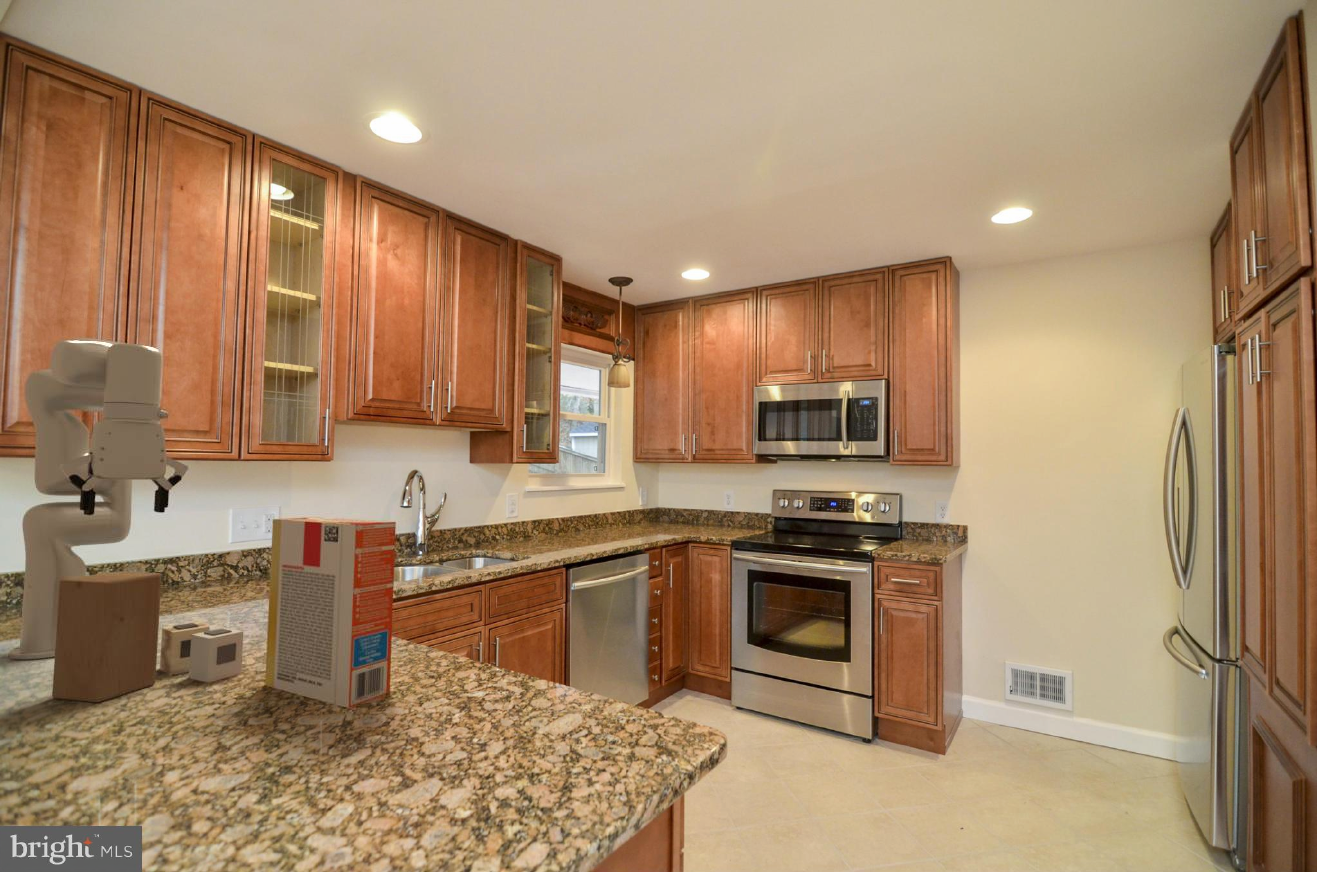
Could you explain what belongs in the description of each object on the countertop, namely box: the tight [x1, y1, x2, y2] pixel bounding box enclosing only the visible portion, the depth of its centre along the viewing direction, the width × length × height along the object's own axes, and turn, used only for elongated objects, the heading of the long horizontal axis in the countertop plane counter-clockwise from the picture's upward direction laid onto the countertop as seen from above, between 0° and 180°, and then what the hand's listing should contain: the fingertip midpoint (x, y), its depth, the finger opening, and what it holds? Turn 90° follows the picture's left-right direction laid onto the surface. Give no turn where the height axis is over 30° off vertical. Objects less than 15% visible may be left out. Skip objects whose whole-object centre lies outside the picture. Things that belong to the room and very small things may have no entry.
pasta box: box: [264, 516, 397, 709], centre depth 114 cm, size 23×8×30 cm, turn 63°
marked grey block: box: [188, 627, 244, 684], centre depth 120 cm, size 6×6×8 cm
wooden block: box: [51, 570, 163, 703], centre depth 111 cm, size 10×10×20 cm
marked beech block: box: [159, 621, 210, 676], centre depth 124 cm, size 6×6×8 cm
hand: (125, 513), depth 109 cm, fingers open, 9 cm apart
